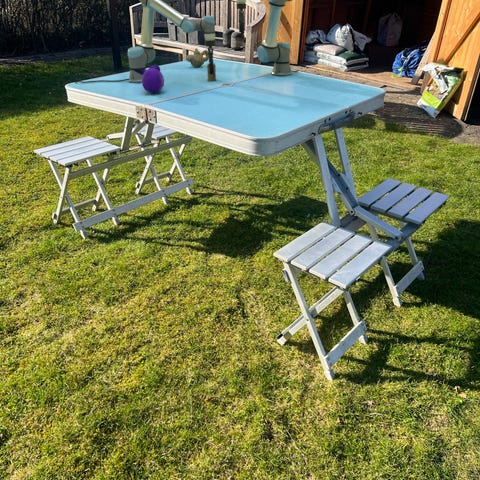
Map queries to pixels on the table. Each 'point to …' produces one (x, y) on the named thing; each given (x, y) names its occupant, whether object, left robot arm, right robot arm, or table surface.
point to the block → (211, 76)
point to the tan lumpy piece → (197, 58)
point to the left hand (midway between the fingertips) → (211, 73)
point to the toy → (152, 79)
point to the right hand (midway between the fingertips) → (241, 33)
